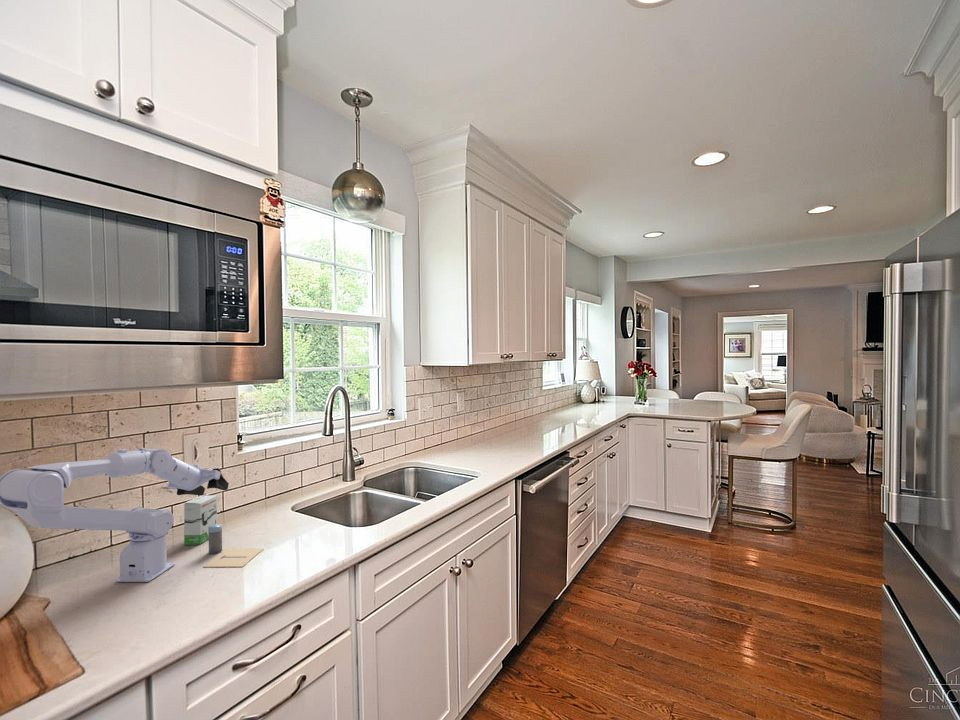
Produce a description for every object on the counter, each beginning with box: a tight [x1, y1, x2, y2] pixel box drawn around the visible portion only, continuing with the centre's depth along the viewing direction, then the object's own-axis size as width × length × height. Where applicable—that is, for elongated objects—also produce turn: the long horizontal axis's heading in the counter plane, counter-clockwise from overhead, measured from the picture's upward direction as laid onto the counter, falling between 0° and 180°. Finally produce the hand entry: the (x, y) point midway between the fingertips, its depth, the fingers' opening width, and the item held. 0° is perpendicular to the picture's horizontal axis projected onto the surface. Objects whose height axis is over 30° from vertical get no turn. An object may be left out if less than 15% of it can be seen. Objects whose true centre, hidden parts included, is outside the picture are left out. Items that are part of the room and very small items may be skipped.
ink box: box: [183, 494, 218, 546], centre depth 136 cm, size 9×5×12 cm, turn 179°
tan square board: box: [202, 548, 264, 568], centre depth 123 cm, size 11×10×1 cm
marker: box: [208, 523, 223, 555], centre depth 127 cm, size 3×3×7 cm
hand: (215, 489), depth 134 cm, fingers open, 7 cm apart
